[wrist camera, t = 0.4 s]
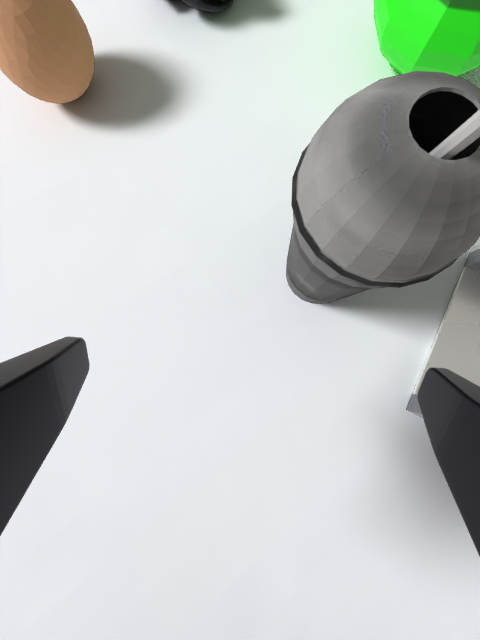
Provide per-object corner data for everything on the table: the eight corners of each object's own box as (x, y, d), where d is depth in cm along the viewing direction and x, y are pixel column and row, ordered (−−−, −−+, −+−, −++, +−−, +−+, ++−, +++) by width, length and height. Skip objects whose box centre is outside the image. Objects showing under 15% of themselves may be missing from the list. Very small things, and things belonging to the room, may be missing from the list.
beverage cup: (359, 220, 25) (839, -344, 5) (373, 317, 24) (1031, 104, 4) (262, 230, 25) (351, -306, 5) (273, 327, 24) (438, 159, 4)
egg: (21, 62, 26) (-77, -72, 18) (101, 43, 27) (39, -98, 18) (36, 134, 26) (-59, 28, 17) (118, 114, 26) (62, 1, 18)
